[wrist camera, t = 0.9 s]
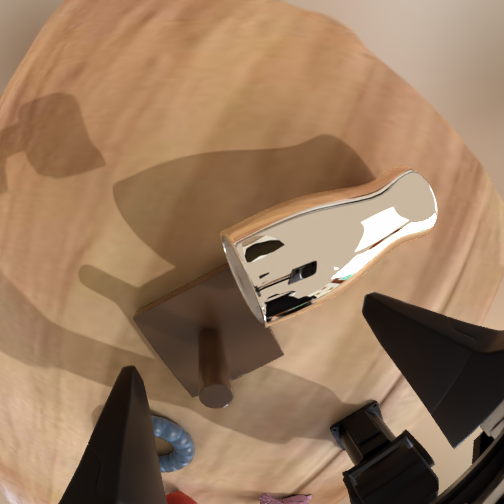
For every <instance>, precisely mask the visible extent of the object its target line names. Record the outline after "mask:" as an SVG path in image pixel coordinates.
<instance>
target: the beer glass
mask: <svg viewBox="0 0 504 504" xmlns="http://www.w3.org/2000/svg"><path fill="white" fill-rule="evenodd" d="M436 220H437V203H436V199H435V195H434V193H433V190H432V188H431V187H430V185H429V183H428V182H427V181H426V179H425V178H424V177H423V176H422V175H421V174H420V173H419V172H417V171H416V170H414V169H412V168H410V167H407V166H397V167H394V168H392V169H390V170H389V171H387V172H386V173H384V174H383V175H381V176H380V177H379V178H377V179H375V180H373V181H371V182H369V183H366V184H362V185H358V186H353V187H347V188H340V189H334V190H328V191H322V192H317V193H313V194H308V195H304V196H300V197H297V198H294V199H291V200H288V201H285V202H282V203H279V204H277V205H275V206H272V207H270V208H268V209H265V210H263V211H261V212H259V213H257V214H255V215H253V216H251V217H249V218H247V219H245V220H243V221H241V222H239V223H237V224H235V225H233V226H231V227H229V228H227V229H225V230H222V231H221V232H220V240H221V244H222V247H223V251H224V254H225V257H226V260H227V262H228V265H229V267H230V270H231V272H232V275H233V277H234V279H235V282H236V284H237V286H238V288H239V290H240V292H241V295H242V297H243V299H244V300H245V302H246V304H247V306H248V308H249V310H250V311H251V313H252V315H253V316H254V318H255V320H256V321H257V322H258V324H259V325H260V326H261V327H262V328H264V329H266V328H267V327H269V326H272V325H274V324H276V323H279V322H281V321H284V320H287V319H289V318H292V317H294V316H297V315H299V314H301V313H304V312H306V311H308V310H310V309H312V308H314V307H316V306H318V305H321V304H323V303H325V302H326V301H328V300H330V299H331V298H333V297H335V296H336V295H338V294H340V293H341V292H343V291H344V290H346V289H347V288H348V287H350V286H351V285H352V284H354V283H355V282H356V281H358V280H359V279H360V278H361V277H362V276H364V275H365V274H366V273H367V272H368V271H369V270H370V269H372V268H373V267H374V266H375V265H376V264H377V263H378V262H379V261H380V260H382V259H383V258H384V257H385V256H386V255H387V254H388V253H390V252H391V251H392V250H394V249H395V248H397V247H398V246H400V245H402V244H404V243H406V242H409V241H412V240H416V239H419V238H422V237H424V236H426V235H427V234H429V233H430V232H431V231H432V229H433V228H434V226H435V224H436Z"/></svg>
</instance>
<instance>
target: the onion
mask: <svg viewBox="0 0 504 504" xmlns="http://www.w3.org/2000/svg"><path fill="white" fill-rule="evenodd" d="M165 496H166V500H167V504H197V502H196V501H194V500H193V499H192V498H190V497H189V496H187V495H185V494H184V493H183V492H181V491H176V492H173V493H169V494H167V495H165Z"/></svg>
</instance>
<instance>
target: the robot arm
mask: <svg viewBox="0 0 504 504" xmlns="http://www.w3.org/2000/svg"><path fill="white" fill-rule="evenodd" d="M362 313H363V316H364V318H365V319H366V321H367V323H368V324H369V326H370V328H371V329H372V331H373V333H374V334H375V336H376V338H377V339H378V341H379V342H380V344H381V345H382V347H383V348H384V350H385V351H386V352H387V354H388V355H389V356H390V358H391V359H392V360H393V362H394V363H395V364H396V366H397V367H398V369H399V370H400V371H401V373H402V374H403V376H404V377H405V378H406V380H407V381H408V382H409V384H410V385H411V387H412V388H413V390H414V391H415V392H416V394H417V395H418V397H419V398H420V400H421V401H422V402H423V404H424V405H425V407H426V408H427V410H428V411H429V413H430V414H431V416H432V417H433V419H434V420H435V422H436V423H437V424H438V426H439V427H440V429H441V431H442V432H443V434H444V435H445V437H446V438H447V440H448V441H449V443H450V444H451V446H452V447H453V448H454V449H455V448H456V447H457V446H458V445H460V444H461V443H462V442H463V441H464V440H465V439H466V438H467V437H468V436H469V435H470V434H472V433H473V432H474V431H475V430H476V429H477V428H478V427H479V426H480V427H481V428H482V430H483V431H482V433H481V434H480V435H479V436H478V437H477V438H476V439H475V440H474V446H473V459H472V465H471V466H470V467H469V468H468V469H467V471H465V472H464V474H463V475H461V476H460V477H459V478H458V479H457V480H456V481H455V482H454V483H453V484H452V485H451V486H450V487H448V488H447V489H446V490H445V491H444V492H443V493H442V494H440V495H439V496H438V490H439V484H438V483H439V482H438V481H439V480H438V477H437V476H436V474H435V473H434V472H433V470H432V469H431V467H432V466H434V465H435V463H434V461H433V459H432V458H431V456H430V455H429V454H428V452H427V451H426V450H425V449H424V448H423V447H422V446H421V444H420V443H419V442H418V441H417V440H416V439H415V438H414V437H413V436H412V435H411V434H410V433H409V432H408V431H407V430H404V431H403V432H402V434H400V435H399V436H398V437H397V438H396V437H395V436H394V434H393V433H392V432H391V430H390V429H389V428H388V427H387V425H386V424H385V423H384V422H383V418H382V414H381V411H380V407H379V404H378V402H377V401H373V402H371V403H370V404H368V405H367V406H365V407H364V408H362V409H360V410H359V411H357V412H355V413H354V414H352V415H350V416H349V417H347V418H345V419H343V420H342V421H340V422H338V423H336V424H335V425H333V426H331V427H330V430H331V432H332V434H333V436H334V437H335V439H336V441H337V442H338V444H339V446H340V448H341V449H342V450H346V452H347V453H348V455H349V457H350V458H351V460H352V462H353V464H354V465H355V466H354V467H353V468H351V469H349V470H348V471H345V472H343V476H344V478H343V481H344V483H345V485H346V487H347V489H348V493H349V498H350V502H351V504H504V330H503V331H498V330H493V329H489V328H485V327H481V326H477V325H473V324H470V323H466V322H463V321H460V320H456V319H453V318H451V317H447V316H445V315H442V314H439V313H436V312H433V311H430V310H427V309H424V308H421V307H418V306H415V305H412V304H409V303H406V302H403V301H400V300H397V299H395V298H392V297H389V296H386V295H383V294H380V293H377V292H371V293H369V294H367V295H365V297H364V303H363V308H362ZM58 504H167V500H166V496H165V491H164V487H163V482H162V477H161V472H160V466H159V460H158V455H157V448H156V442H155V435H154V427H153V421H152V417H151V413H150V409H149V404H148V400H147V396H146V391H145V386H144V382H143V380H142V378H141V376H140V374H139V373H138V371H137V369H136V368H135V366H133V365H131V366H126V367H123V368H122V369H121V372H120V374H119V376H118V378H117V380H116V382H115V384H114V386H113V388H112V390H111V393H110V395H109V397H108V399H107V401H106V403H105V406H104V408H103V410H102V412H101V415H100V417H99V419H98V421H97V424H96V426H95V428H94V431H93V433H92V435H91V438H90V440H89V442H88V445H87V447H86V449H85V452H84V454H83V456H82V459H81V461H80V463H79V466H78V468H77V469H76V471H75V473H74V476H73V477H72V479H71V481H70V483H69V485H68V487H67V489H66V491H65V493H64V494H63V496H62V498H61V500H60V502H59V503H58Z"/></svg>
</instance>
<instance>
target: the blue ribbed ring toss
mask: <svg viewBox="0 0 504 504" xmlns="http://www.w3.org/2000/svg"><path fill="white" fill-rule="evenodd" d="M151 417H152V421H153V427H154V435H155V436H156V437H159V438H161V439H163V440H165V441H168V442H169V443H170V444H171V445H172V446H173V447H174V451H173V452H172V453H171V454H168V455H164V456H158V460H159V466H160V472H172V471H176V470H180V469H182V468H183V467H185V466H186V465H188V464H189V463H190V462H191V461H192V459H193V456H194V453H195V447H194V444H193V441H192V438H191V436H190V435H189V434H188V433H187V432H186V431H185V430H184V429H182V428H181V427H180V426H179V425H177V424H175V423H173V422H171V421H169V420H167V419H165V418H162V417H158V416H154V415H151Z"/></svg>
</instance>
